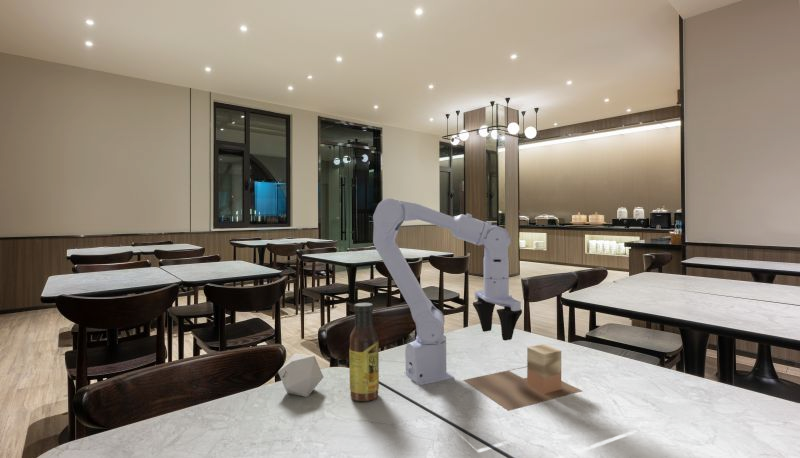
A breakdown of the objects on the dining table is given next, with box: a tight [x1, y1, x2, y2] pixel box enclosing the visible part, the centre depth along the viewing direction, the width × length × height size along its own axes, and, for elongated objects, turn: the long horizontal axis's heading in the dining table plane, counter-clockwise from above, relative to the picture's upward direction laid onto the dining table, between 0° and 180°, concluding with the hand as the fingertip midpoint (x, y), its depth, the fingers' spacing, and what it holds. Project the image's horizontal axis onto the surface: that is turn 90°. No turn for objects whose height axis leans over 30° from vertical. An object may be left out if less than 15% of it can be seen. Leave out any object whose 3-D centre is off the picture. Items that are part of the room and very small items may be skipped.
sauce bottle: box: [348, 302, 380, 402], centre depth 85 cm, size 6×6×20 cm
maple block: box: [526, 343, 562, 378], centre depth 88 cm, size 5×5×5 cm
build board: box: [462, 365, 583, 412], centre depth 89 cm, size 20×16×1 cm
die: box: [277, 352, 324, 398], centre depth 88 cm, size 8×9×10 cm
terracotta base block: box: [527, 370, 562, 394], centre depth 88 cm, size 5×5×4 cm
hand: (496, 335), depth 94 cm, fingers open, 7 cm apart
